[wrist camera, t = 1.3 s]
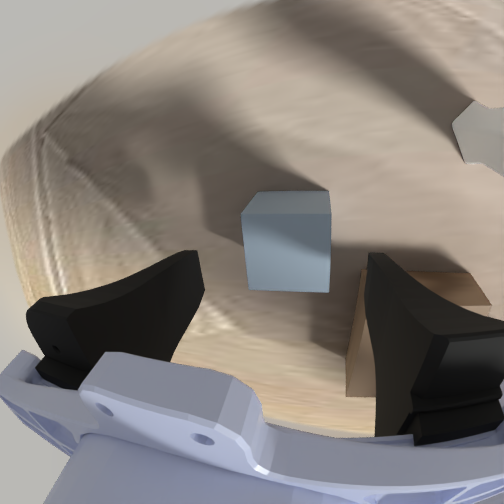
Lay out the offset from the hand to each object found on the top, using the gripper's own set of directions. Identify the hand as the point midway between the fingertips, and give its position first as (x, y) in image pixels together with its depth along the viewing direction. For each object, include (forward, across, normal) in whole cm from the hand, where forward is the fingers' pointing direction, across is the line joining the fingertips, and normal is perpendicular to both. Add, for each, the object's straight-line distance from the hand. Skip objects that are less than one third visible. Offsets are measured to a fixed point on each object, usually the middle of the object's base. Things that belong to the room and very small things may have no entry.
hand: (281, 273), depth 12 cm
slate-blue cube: (+6, 0, 0) cm, 6 cm away
